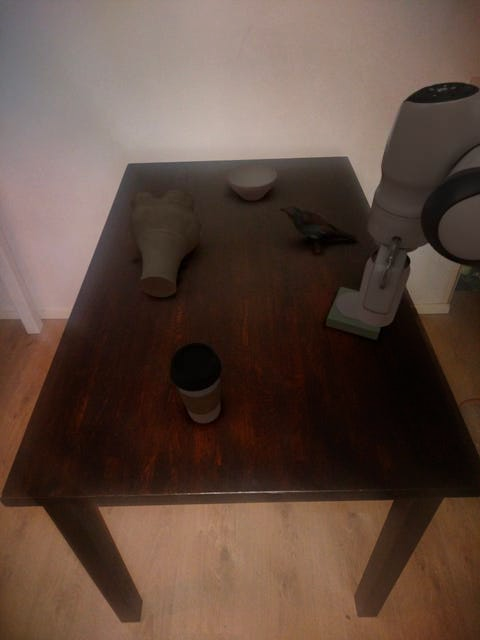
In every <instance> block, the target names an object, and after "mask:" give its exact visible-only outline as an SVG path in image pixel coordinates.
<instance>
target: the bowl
mask: <svg viewBox="0 0 480 640" xmlns="http://www.w3.org/2000/svg"><path fill="white" fill-rule="evenodd" d="M277 178H278V171H277V170H276V169H275V168H274V167H273V166H270V165H268V164H264V163H253V162H252V163H243V164H239V165H236V166H234V167H232V168H231V169H229V171H227V173H226V180H227V183H228V185H229V186H230V188H231V189H232V190H233V191H234V192H235V193H236V194H237V195H239V196H240V198H242V200H245V201H250V202H254V201H259V200H261V199H262V198H264V196H265V195H266V194H267V192H269V191H270V190H272V188H273V186H274V185H275V184H276V182H277Z"/></svg>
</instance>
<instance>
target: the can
mask: <svg viewBox="0 0 480 640" xmlns="http://www.w3.org/2000/svg"><path fill="white" fill-rule="evenodd" d="M378 251H379V248H377V249H375V250H374V251H372V253H371V255H370V257H369V258H368V259H367V261H366V263H365V267H364V271H363V276H362V280H361V283H360V287H359V290H358V291H359V295H358V299H357V303H356V308H355V314H356V316H357V318H358V319H359V320H360V321H361V322H363V323H364V324H366V325H368V326H371V327H381V328H382V327H386V326H389V325H391V324H392V322H394V319H395V316H396V314H397V311H398V308H399V305H400V303H401V300H402V298H403V294H404V292H405V289H406V286H407V282H408V280H409V278H410V274H411V257H410V256H409V254H407V257H406V261H405V265H404V268H403V272H402V275H401V279H400V282H399V285H398V288H397V291H396V294H395V297H394V300H393V303H392V306H391V309H390V311H389V312H388V314H375V313H371V312H370V311H368V310H365V309H364V308H363V301H364V297H365V293H366V290H367V286H368V283H369V279H370V275H371V272H372V269H373V265H374V262H375V259H376V257H377V254H378Z"/></svg>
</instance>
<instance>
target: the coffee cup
mask: <svg viewBox="0 0 480 640" xmlns="http://www.w3.org/2000/svg"><path fill="white" fill-rule="evenodd" d="M222 366H223V365H222V363H221V360H220V357H219V356H218V354H217V353H216V351H215V350H214V349H213V348H212V347H211V346H210V345H209V344H205V343H203V342H192V343H191V342H190V343H189V344H188V343H187V344H185V345H183V346H182V347H180V348H179V349H177V351H176V352H175V353H174V355H173V356H172V358H171V362H170V367H169V376H170V379H171V381H172V383H173V385H175V387H176V390H177V392H178V394H179V396H180V398H181V400H182V402H183V404H184V406H185V408H186V410H187V413H188V414H189V416H190V418H191V419H192V420H193V421H194V422H195V423H197V424H209V423H211V422H213V421H215V420H216V419H217V418H218V417H219V414H220V412H221V392H222V391H221V389H222V388H221V387H222V386H221V385H222V383H221V382H222V381H221V380H222V377H221V376H222V375H221V374H222V370H223V369H222Z"/></svg>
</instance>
